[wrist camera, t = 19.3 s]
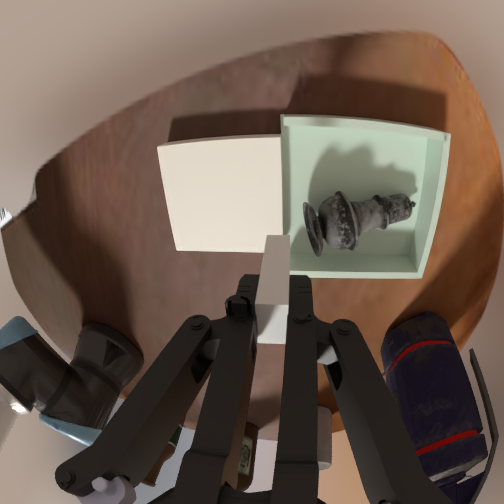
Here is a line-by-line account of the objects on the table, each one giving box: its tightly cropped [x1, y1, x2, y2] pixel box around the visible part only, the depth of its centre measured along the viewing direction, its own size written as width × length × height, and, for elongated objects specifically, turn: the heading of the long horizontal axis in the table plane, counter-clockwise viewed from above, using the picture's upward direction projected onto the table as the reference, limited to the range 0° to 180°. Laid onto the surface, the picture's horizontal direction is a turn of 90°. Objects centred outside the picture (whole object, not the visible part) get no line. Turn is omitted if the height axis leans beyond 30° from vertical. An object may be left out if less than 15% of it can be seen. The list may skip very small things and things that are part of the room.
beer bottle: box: [141, 414, 186, 487], centre depth 52 cm, size 8×8×24 cm
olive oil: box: [236, 422, 258, 492], centre depth 52 cm, size 11×11×25 cm
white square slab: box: [157, 134, 284, 252], centre depth 28 cm, size 12×12×2 cm
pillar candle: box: [317, 406, 332, 470], centre depth 47 cm, size 10×10×15 cm
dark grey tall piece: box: [303, 191, 416, 257], centre depth 25 cm, size 6×6×12 cm
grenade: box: [381, 312, 499, 504], centre depth 24 cm, size 14×12×30 cm
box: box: [280, 114, 451, 278], centre depth 25 cm, size 16×16×4 cm
